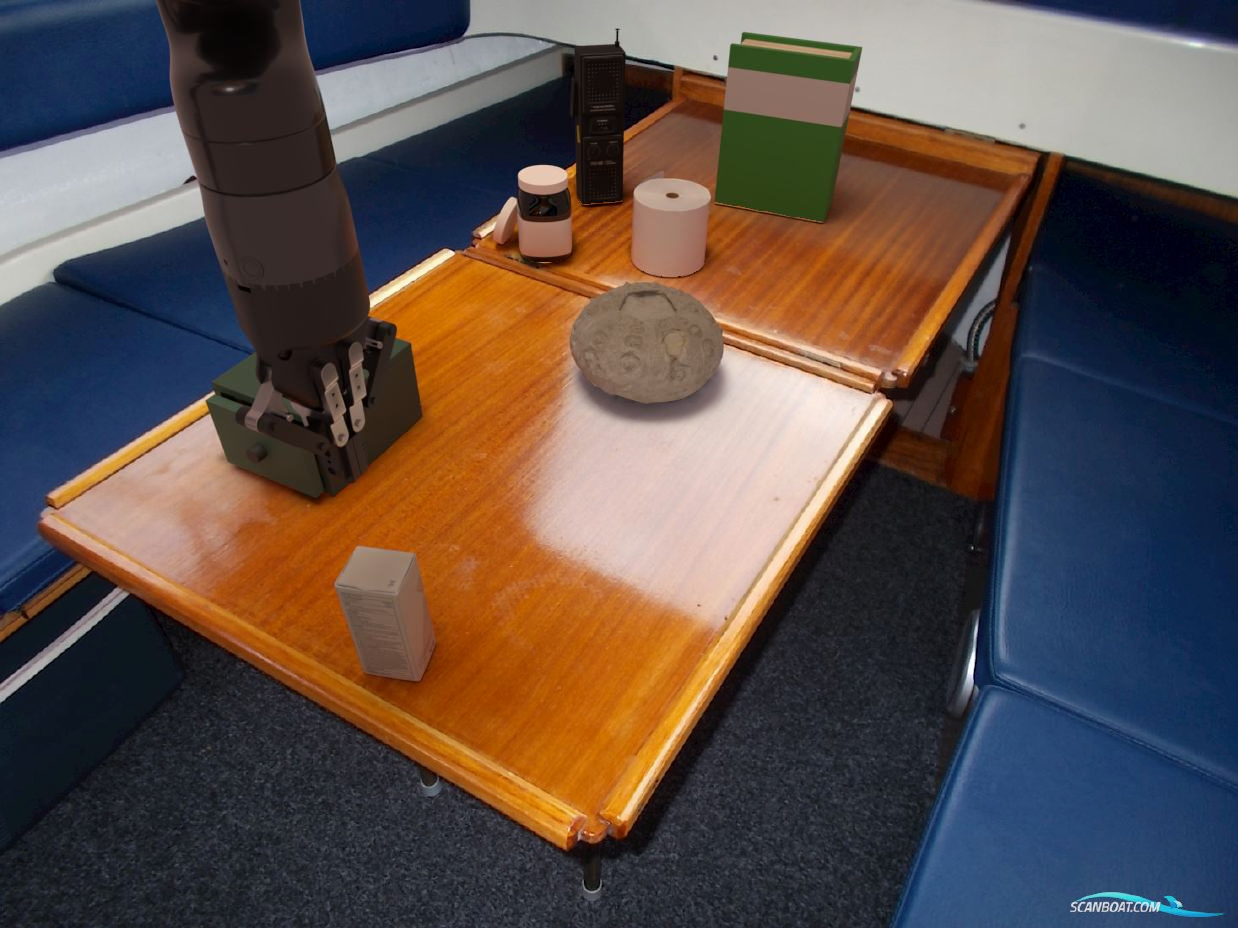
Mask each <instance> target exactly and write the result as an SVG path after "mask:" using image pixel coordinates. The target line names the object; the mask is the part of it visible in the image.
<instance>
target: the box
mask: <svg viewBox="0 0 1238 928" xmlns="http://www.w3.org/2000/svg"><path fill="white" fill-rule="evenodd" d="M333 587H334V589H335V591H336V595H337V597H338V601H339V604H340V606H341V609H342V613H343V615H344V619H345V621H346V624H347V627H348V630H349V633H350V636H351V639H352V642H353V644H354V648H355V651H356V654H357V657H358V660H359V664H360V666H361V669H362V672H363V674H367V675H371V676H377V677H382V678H391V679H396V680H402V681H411V682H419V683H420V681H421V680H422V678H423V676H424V673H425V672H426V670H427V667H428V665H429V663H430V660H431V657H432V655H433V652H434V649H435V647H436V644H437V637H436V635H435V630H434V626H433V621H432V618H431V613H430V609H429V603H428V601H427V597H426V592H425V588H424V584H423V579H422V575H421V570H420V566H419V562H418V559H417V554H416V553H414V552H410V551H409V552H408V551H401V550H395V549H388V548H380V547H372V546H365V545H356V547H355V548H354V550H353V551H352V553H351V554H350V556H349V558H348V560H347V561H346V563H345V564H344V566H343V568H342V570H341V571H340V573H339V575H338V577H337V578H336V580H335V581H334V584H333Z"/></svg>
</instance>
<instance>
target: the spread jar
mask: <svg viewBox="0 0 1238 928" xmlns="http://www.w3.org/2000/svg"><path fill="white" fill-rule="evenodd" d="M517 180H518V181H517V182H518V189H517V191H516V197H514V196H511V197H509V198H508V200H507V201H506V202H505V204H504V205H503V207H502V208H501V211H500V212H499V215H498V217H497V219H496V221H495V225H494V228H493V233H492V240H493V242H496V243H498V244H500V245H502V244H503V245H505V244H504V242H505V241H506V240H507V239H508V238H509V239H510V238H511V236H512V234H513V232H514V231H515V229H516V226H517V238H518V248H519V252H520V255H521V256H522V257H523V259H525V260H526V261H529V262H532V261H533V262H532V263H535V262H555V263H557V262H556V261H559V262H561V261H560V260H562V261H563V259H564V260H565V259H567V258H569V257H570V256H571V254H572V251H573V250H572V249H573V224H572V223H573V218H572V217H573V207H572V198H571V192H570V189H569V187H568V186H569V174H568V171H566V170H564V169H563V168H562V167H559V166H555V165H551V164H550V165H548V164H538V165H531V166H528V167H525V168H523V169H521V170H520V171H519V172H518V174H517ZM510 235H511V236H510ZM509 239H508V240H509ZM508 240H507V241H508Z"/></svg>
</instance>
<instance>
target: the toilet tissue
mask: <svg viewBox="0 0 1238 928" xmlns="http://www.w3.org/2000/svg"><path fill="white" fill-rule="evenodd" d="M664 175H665V170H664V169H663V170H661V171H658V172H655V173H654V174H652V175H650V176H649V177H646V178H645V179H643V180H642V182H640V183H639V184H637V186H636V187H635V188H634V191H633V196H632V197H633V201H632V219H631V220H632V221H631V222H632V223H631V227H632V229H631V250H630V255H631V257H630V259H631V263H632V264H633V266H634V267H635V268H637V269H638V270H640V271H641V272H643V271H644V273H646V274H648V275H651V276H655V277H661V276H662V277H663V278H679V277H678V276H681V277H685V276H689V275H692V274H695V273H697V272H699V270H701V269H702V268H703V267H704V266H705V262H704V261H705V259H706V250H707V238H708V233H709V232H708V228H709V218H710V211H711V210H710V209H711V197H712V196H711V193H710V191H709V189H708V188H707V187H705V186H703V185H702V184H700V183H697V182H695V181H692V180H687V179H682V178H672V177H671V178H664ZM696 271H697V272H696ZM694 272H695V273H694Z"/></svg>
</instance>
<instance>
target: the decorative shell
mask: <svg viewBox="0 0 1238 928" xmlns="http://www.w3.org/2000/svg"><path fill="white" fill-rule="evenodd" d="M723 334H724V328H723V327H721V326H720V325H718V324H717V319H715V317H714V315H713V313H712V312H711V311H709V309H708V308H707V307H705V306H704V305H703V303H702V302H701V300H699V299H697V298H696V297H694V296H692V294H690V293H687V292H685V291H684V290H681V289H677V288H675V287H672V286H667V285H665V284H660V283H658V281H656V280H655V281H654V282H650V281H642V282H641V281H637V282H634V283H633V282H632V283H630V282H629V281H626V282H624V284H623V285H619V286H616V287H615V288H612V289H609V290H608V291H606V292H602V293H600V294H599V295H597V297H593V296H592V297H590V300H589V303H587V304H586V305H585V306H584V307H583V308H582V309H581V311H580V312H579V314H578V316H577V317H576V319H575V320H574V322H573V324H572V327H571V330H570V335H569V349H570V352H571V356H572V358H573V360H574V363H575V364H576V366H577V367H578V369H579V370H580V371H581V372H582V374H583V375H584V377H585V378H586V379H587V380H588V382H590V383H591V384H592V385H594V386H595V387H597V388H598V389H600V390H601V391H603V392H605V393H606V394H608V395H616V396H618V397H622V398H625V399H628V400H631V401H634V402H637V403H640V404H647V405H648V404H653V403H668V402H671V401H672V402H673V401H678V400H683V399H684V398H685V399H686V398H687V397H689V396H691V395H692V394H694V393H695V392H697V391H699V390H700V389H701V388H702V387H703V386H704V385H705V384H706V383H707V382H708V381H709V380H710V378H712V377H713V376H714V375H715V373H716V372H717V371H718V368H719V366H720V365H721V362H722V360H723V356H724V352H725V351H724V350H725V349H724V348H725V346H724V343H725V341H724V339H723Z"/></svg>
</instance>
